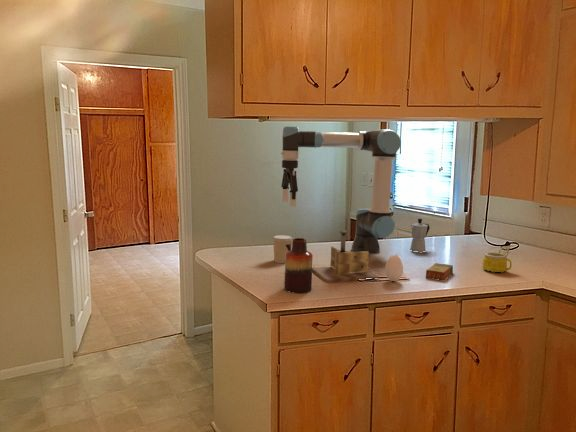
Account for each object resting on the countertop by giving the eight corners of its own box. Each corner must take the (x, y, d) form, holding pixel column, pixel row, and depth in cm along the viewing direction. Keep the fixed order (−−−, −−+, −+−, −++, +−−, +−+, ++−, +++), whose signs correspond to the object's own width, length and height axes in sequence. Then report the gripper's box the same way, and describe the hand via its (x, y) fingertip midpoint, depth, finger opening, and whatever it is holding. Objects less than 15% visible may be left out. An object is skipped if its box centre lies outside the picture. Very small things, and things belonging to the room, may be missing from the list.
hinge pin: (344, 254, 224) (345, 230, 223) (347, 255, 221) (348, 231, 220) (337, 254, 223) (338, 230, 222) (340, 256, 220) (341, 231, 219)
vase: (279, 287, 205) (280, 238, 201) (300, 283, 211) (302, 235, 208) (294, 294, 196) (296, 243, 193) (316, 290, 202) (318, 240, 199)
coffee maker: (417, 254, 272) (419, 220, 269) (404, 250, 278) (406, 218, 275) (433, 250, 281) (436, 218, 278) (420, 247, 288) (422, 216, 285)
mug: (481, 272, 238) (483, 246, 236) (482, 266, 248) (484, 242, 246) (510, 275, 233) (513, 250, 231) (511, 270, 243) (513, 245, 241)
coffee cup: (289, 264, 242) (290, 239, 240) (270, 262, 244) (271, 238, 242) (293, 259, 251) (294, 235, 249) (274, 258, 253) (275, 234, 251)
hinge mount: (358, 267, 240) (359, 244, 238) (378, 279, 221) (380, 254, 219) (310, 270, 233) (311, 246, 231) (327, 282, 213) (328, 256, 212)
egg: (389, 284, 214) (390, 257, 212) (381, 279, 221) (383, 253, 219) (405, 283, 215) (407, 256, 213) (397, 278, 222) (399, 252, 221)
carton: (425, 278, 225) (425, 269, 225) (434, 271, 239) (435, 262, 238) (444, 281, 221) (444, 272, 220) (452, 273, 235) (453, 264, 234)
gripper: (275, 158, 251) (275, 200, 254) (289, 161, 227) (288, 208, 231) (290, 158, 253) (289, 200, 256) (305, 161, 229) (304, 207, 233)
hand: (288, 204), depth 243 cm, fingers open, 13 cm apart
